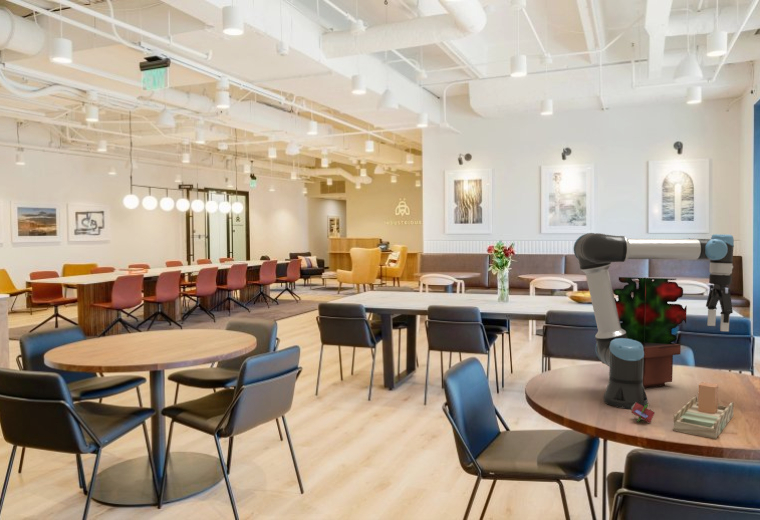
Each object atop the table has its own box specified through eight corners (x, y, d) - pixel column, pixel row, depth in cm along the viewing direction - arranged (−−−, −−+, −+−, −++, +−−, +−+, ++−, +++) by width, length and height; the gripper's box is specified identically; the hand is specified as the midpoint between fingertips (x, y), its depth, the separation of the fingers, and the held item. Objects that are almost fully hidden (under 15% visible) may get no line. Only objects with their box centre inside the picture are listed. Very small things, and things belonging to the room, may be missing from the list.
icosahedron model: (662, 416, 195) (647, 395, 198) (656, 421, 190) (641, 399, 193) (644, 425, 199) (630, 404, 202) (637, 430, 194) (623, 408, 197)
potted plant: (684, 387, 240) (687, 279, 238) (643, 392, 232) (646, 280, 230) (642, 375, 261) (644, 275, 259) (603, 379, 253) (605, 276, 251)
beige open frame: (715, 439, 180) (716, 423, 180) (673, 430, 188) (673, 415, 187) (733, 415, 203) (733, 401, 203) (694, 409, 210) (695, 395, 210)
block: (714, 413, 195) (715, 387, 195) (698, 411, 199) (698, 384, 198) (717, 410, 199) (718, 384, 199) (701, 407, 202) (701, 382, 202)
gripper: (744, 276, 213) (741, 334, 214) (719, 272, 237) (716, 324, 238) (722, 275, 214) (719, 333, 215) (699, 271, 239) (696, 323, 240)
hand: (717, 328), depth 227 cm, fingers open, 13 cm apart
